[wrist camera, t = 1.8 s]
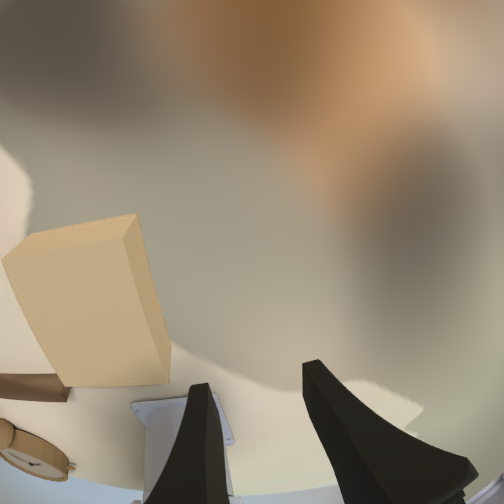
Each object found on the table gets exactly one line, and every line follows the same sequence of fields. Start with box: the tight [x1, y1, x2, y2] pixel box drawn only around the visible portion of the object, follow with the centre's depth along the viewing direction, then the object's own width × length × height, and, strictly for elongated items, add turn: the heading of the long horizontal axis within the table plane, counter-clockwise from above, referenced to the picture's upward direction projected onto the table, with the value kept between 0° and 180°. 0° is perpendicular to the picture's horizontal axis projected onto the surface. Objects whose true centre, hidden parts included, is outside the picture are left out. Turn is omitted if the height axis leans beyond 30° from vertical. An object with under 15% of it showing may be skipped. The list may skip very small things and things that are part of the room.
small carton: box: [1, 213, 171, 387], centre depth 16 cm, size 10×8×4 cm
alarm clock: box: [0, 419, 75, 482], centre depth 23 cm, size 11×5×15 cm
